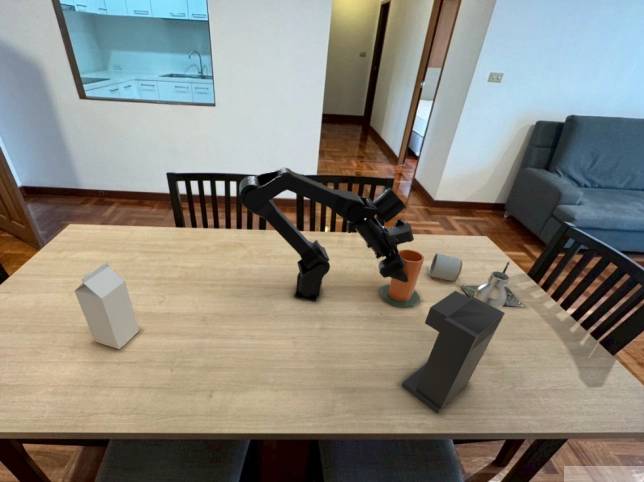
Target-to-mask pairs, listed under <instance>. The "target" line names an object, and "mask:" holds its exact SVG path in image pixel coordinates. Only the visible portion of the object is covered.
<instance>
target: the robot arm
mask: <svg viewBox="0 0 644 482" xmlns="http://www.w3.org/2000/svg"><path fill="white" fill-rule="evenodd" d="M238 189H239V202H240V204H242V206H243V207H244V208H245V209H247V210H248V211H250V213H252V214H254V215H256V216H258V217H260V218H263V219H264V220H265V221H266V222H267V223H268V225H270V226H271V227H272V228H273V229H274V230H275V231H276V232H277V234H279V235H280V236H281V238H283V239H284V240H285V241H286V243H288V245H289V246H290V247H291V248H292V249H293V250H294V251H295V252H296V254H298V255H299V257H300V259H299V260H298V261H297V262H296V263H297V267H298V274H296V275H297V276H296V288H295V289H296V290H295V292H294V295H293V297H294V298H298V299H302V300H305V301H306V300H307V301H312V302H317V300H318V297H320V296H321V294H322V288H323V287H322V286H323V279H324V278H325V275H327V274H328V273H329V271H330V268H331V264H330V262H329V261H330V257H329V255H328V253H327V250H326V248H325V247H324V246H322V245H321V244H320V242H319V241H318V240H317V239H315V240H314V241H313V242H312V241H309V240H308V239H307V238H306V236H304V234H303V233H301V231H300V230H299V229H298V228H297V227H296V225H294V224H293V222H292V221H291V220H290V219H289V218H288V217H287V216H286V215H285V214H284V212H283V211H282V210H281V209H280V208H279V207H278V205H276V204H275V202H274V200H273V199H274V198H276V197H277V196H278V195H280V194H282V193H283V192H286V191H289V192H292V193H294V194H296V195H299V196H301V197H303V198H306V199H308V200H310V201H313V202H315V203H318V204H320V205H322V206H325V207H327V208H329V209H330V210H332V211H333V212H334V213H335V214H336V215H338V216H339V217H340V218H341V219H343V220H345V221H346V226H345V228H346V231H347V233H348V234H352V233H353V232H354V231H356V232H357V233H358V234H359V236H360V237H361V239H363V241H364V242H365V244H366V247H367V248H368V249H371V250H372V251H373V253H374V256H375V258H376V259H377V260H379V259H380V258H383V259H382V260H380V261H378V272H379V274H380V275H381V277H382V278H383V279H386V278H390V279H391V278H394V279H397V280H399V281H402V282H405V283H406V282H408V281H409V280H408V278H407V276H406V274H405V272H404V270H403V267H404V266H405V263H404V259H403V258H402V257H401V255H400V254H399V253H398V252H399V251H400V250H399V247H398V245H402V244H406V243H412V242H413V241H414V240H415V238H414V232H413V229H412V226H411V224H410V223H409V222H408V221H404V220H403V219H402V218H398V219H395V222H394V225H392V226H391V227H390V228H388V227H387V226H386V225H385V226H384V225H382V224H381V223H380V222H379V220H380V221H381V222H385V223H386V224H387V223H389V222H390V221H392V219H394V218H395V217H397V216H398V215H399V214H401V213H402V212H403V211H405V210H406V209H407V206H406V204H405V203H404V202H403V200H402V199H401V198H400V197H399V196H398V195H397V194H396V193H395V191H394V190H393V189H392V187H388V188H386V189H385V190H384V192H383V193H382V194H381V195H379V196H378V197H376V198H375V199H374V200H373V201H372V199H371V198H370V197H365V196H359V195H358V194H357V193H356V192H353V191H350V190H345V189H335V188H331V187H329V186H327V185H324V184H322V183H320V182H318V181H315V180H313V179H311V178H308V177H306V176H304V175H302V174H300V173H298V172H295V171H293V170H291V169H290V168H289V167H281V168H278V169H276V170H273V171H268V172H263V173H261V174H258V175H256V176H255V175H248V176H244V177H243V178H242V179H241V181H240V182H239V187H238ZM375 216H377V217H378V219H379V220H378V219H377V218H376V217H375Z"/></svg>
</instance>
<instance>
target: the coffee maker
mask: <svg viewBox="0 0 644 482" xmlns="http://www.w3.org/2000/svg"><path fill="white" fill-rule="evenodd" d="M505 314H506V312H504V311H502V310H501V309H500V310H498V309H496V308H494V307H492V306H490V305H489V304H487V303H485V302H483V301H481V300H479V299H477V298H475V297H474V298H473V299H471V298H470V297H469V296H467V295H465V294H463V293H461V292H459V291H458V290H454V291H452V292H450V294H449V295H446V296H445V297H444V298H441V300H439V301H438V302H436V303H435V304H433V305H432V306H430V308H429V310H428V313H427V316H426V319H425V321H424V324H425V325H427V326H429V327H430V328H431V329H433V330H435V331H436V332H438V334H437V336H436V339H435V341H434V344H433V347H432V349H431V351H430V354H429V356H428V359H427V361H426V363H425V364H424V365H423V366H421V367H420V368H419V369H418V370H416V371H415V372H414V373H412V374H411V375H410V376H409V377H407V378H406V379H405V380H404V381H402V384H401V387H403V388H404V389H405V390H406V391H407V392H408V393H410V394H411V395H413V396H414V397H416V398H417V399H418V400H419V401H421V402H422V403H423V404H425V405H426V406H427V407H429V408H430V409H431V410H432V411H434V412H435V413H436V414H439V413H440V412H441V411H442V410H443V409H444V408H446V406H448V404H449V403H451V402H452V400H454V399H455V398H456V397H457V396H458V395H459V394H460V393H461V392H462V391H463V390H464V389H465V388H466V387H467V386H468V384H469V382H470V380H471V378H472V377H473V374H474V372H475V371H476V369H477V367H478V365H479V363H480V361H481V360H482V357H483V355H484V354H485V352H486V350H487V348H488V346H489V344H490V343H491V340H492V339H493V337H494V335H495V333H496V331H497V329H498V327H499V325H500V324H501V322H502V320H503V318H504V317H505Z"/></svg>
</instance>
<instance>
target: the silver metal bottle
mask: <svg viewBox="0 0 644 482" xmlns="http://www.w3.org/2000/svg"><path fill="white" fill-rule="evenodd" d="M502 272H503V271H498V270H497V271H492V272H491V273H490V275H489V277H488V278H487V281H485V282H483V283H482V284H480V285H478V286H479V287H478V288H477V289H476V292H475V295H474V297H475V298H477V299H479V300H481V301H483V302H485V303H487V304H489V305H490V306H492V307H494V308H496V309H498V310H500V311H501V309H502V308H503V305H504V303H505V302H506V298H507V295H506V290H505V288H504V287H506V286H507V287H508V283H509V281H510V276H509V275H508V274H506V272H505V273H502Z"/></svg>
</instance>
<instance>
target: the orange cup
mask: <svg viewBox="0 0 644 482" xmlns="http://www.w3.org/2000/svg"><path fill="white" fill-rule="evenodd" d="M398 251H399V252H398V253H399V254H400V255H401V257H402V258H403V259H404V263H405V266H404V267H403V270H404V272H405V274H406V276H407V278H408V280H409V281H408V282H406V283H405V282H402V281H399V280H397V279H394V278H391V277H390V282H389V284H390V285H389V289H388V294H389V296H390V297H391V298H393V299H395V300H398V301H408V300H410V299H411V298H412V295H413V292H414V290H415V289H416V286H417V283H418V279H419V276H420V273H421V270H422V267H423V264H424V260H425V257H424V255H423V254H422V253H420V252H419V251H417V250H414V249H400V250H398Z"/></svg>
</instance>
